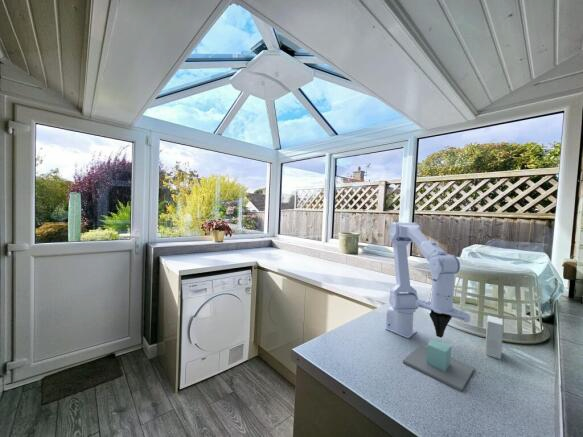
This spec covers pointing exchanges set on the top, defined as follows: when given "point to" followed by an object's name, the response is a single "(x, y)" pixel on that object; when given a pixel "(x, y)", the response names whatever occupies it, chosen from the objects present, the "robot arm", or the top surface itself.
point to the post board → (452, 376)
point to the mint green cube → (438, 354)
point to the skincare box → (494, 336)
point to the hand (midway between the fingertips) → (439, 335)
